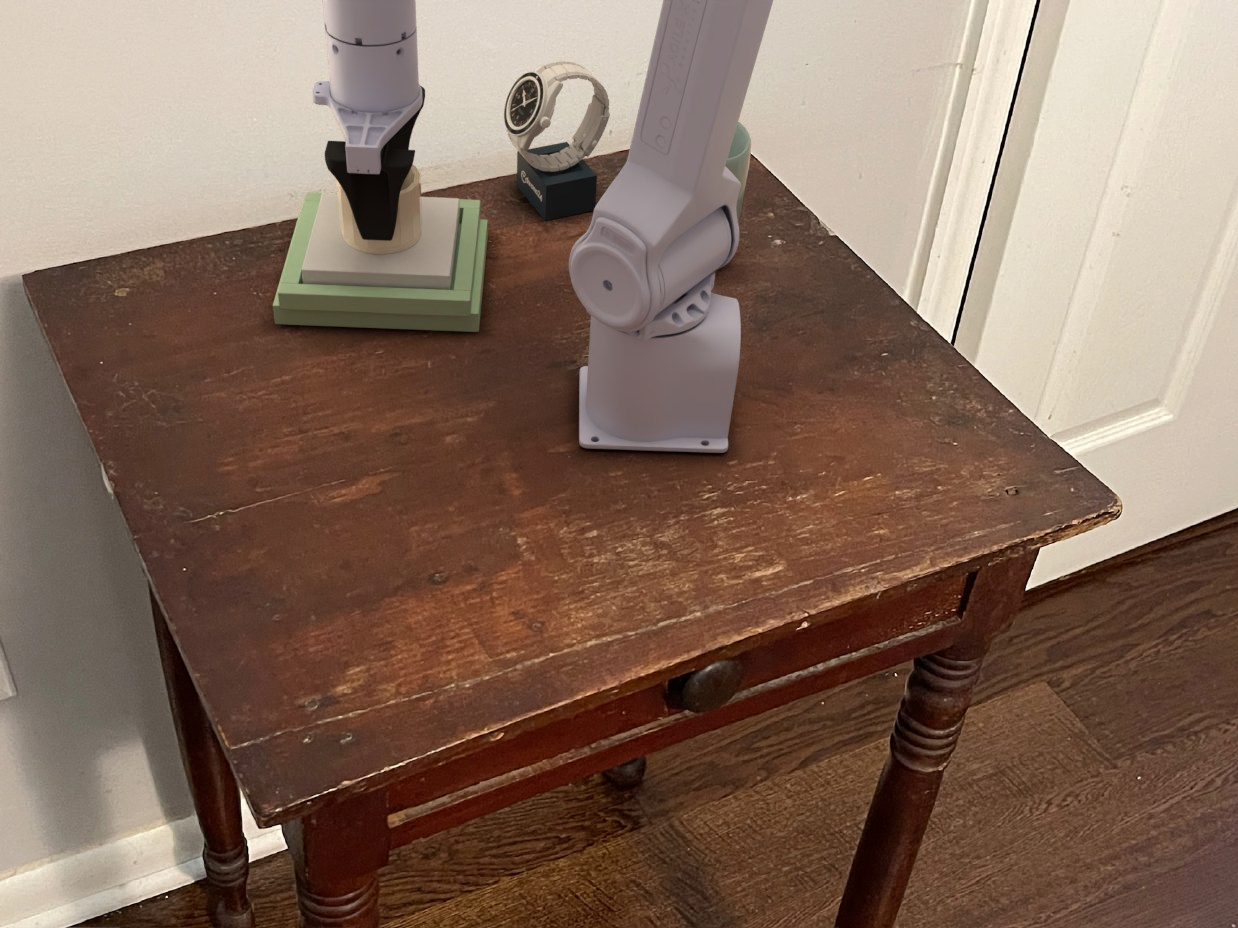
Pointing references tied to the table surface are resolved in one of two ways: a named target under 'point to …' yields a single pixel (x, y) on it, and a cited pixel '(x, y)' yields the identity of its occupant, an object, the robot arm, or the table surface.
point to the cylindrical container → (406, 223)
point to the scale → (386, 303)
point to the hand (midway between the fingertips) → (382, 212)
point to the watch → (558, 169)
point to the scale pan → (404, 269)
